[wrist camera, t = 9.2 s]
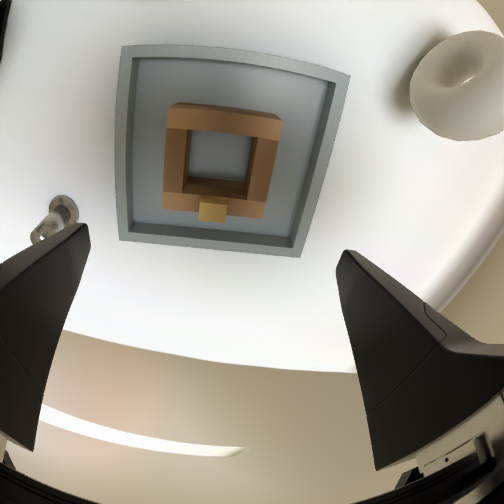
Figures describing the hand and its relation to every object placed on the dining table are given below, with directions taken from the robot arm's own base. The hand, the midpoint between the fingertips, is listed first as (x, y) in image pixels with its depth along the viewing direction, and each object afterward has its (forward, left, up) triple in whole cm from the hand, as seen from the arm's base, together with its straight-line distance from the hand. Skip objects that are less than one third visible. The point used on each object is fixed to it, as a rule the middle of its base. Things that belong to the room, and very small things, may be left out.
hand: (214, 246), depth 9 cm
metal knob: (+6, -13, -12) cm, 19 cm away
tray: (0, 0, -12) cm, 12 cm away
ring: (0, 0, -11) cm, 11 cm away
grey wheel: (-10, +14, -12) cm, 21 cm away
